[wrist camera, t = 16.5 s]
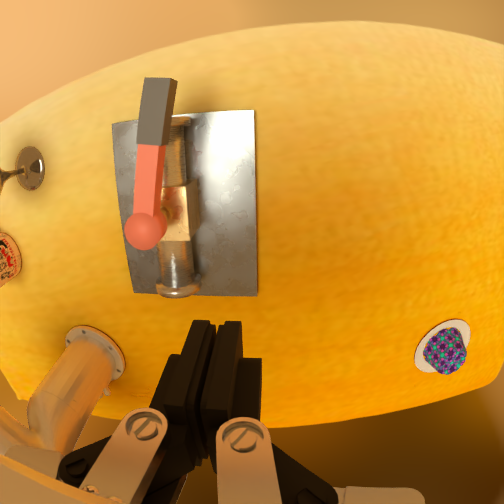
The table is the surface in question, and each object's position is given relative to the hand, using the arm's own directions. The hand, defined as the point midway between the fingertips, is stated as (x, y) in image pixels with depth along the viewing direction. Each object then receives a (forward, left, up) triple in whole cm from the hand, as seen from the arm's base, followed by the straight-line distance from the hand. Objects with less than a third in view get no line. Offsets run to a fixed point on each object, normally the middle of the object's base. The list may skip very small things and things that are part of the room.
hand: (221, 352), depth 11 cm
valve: (-2, +9, -29) cm, 31 cm away
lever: (+5, +9, -19) cm, 22 cm away
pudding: (-26, -33, -30) cm, 51 cm away
